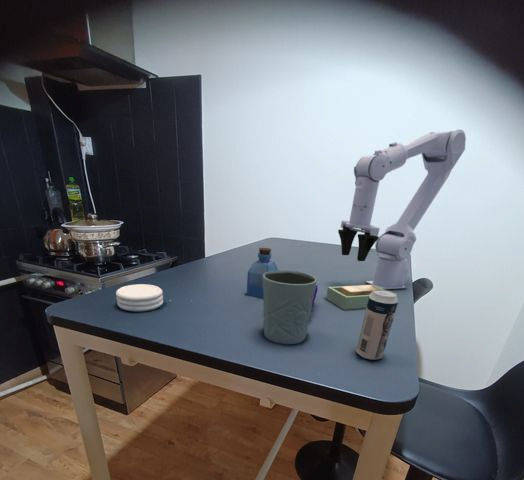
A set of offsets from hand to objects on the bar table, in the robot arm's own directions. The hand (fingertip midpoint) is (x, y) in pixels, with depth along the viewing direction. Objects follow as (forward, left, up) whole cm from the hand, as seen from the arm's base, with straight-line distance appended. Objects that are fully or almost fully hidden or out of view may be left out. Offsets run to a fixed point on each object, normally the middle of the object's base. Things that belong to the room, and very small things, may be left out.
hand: (352, 257), depth 92 cm
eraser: (+4, +11, -9) cm, 15 cm away
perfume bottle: (+28, 0, -10) cm, 29 cm away
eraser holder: (+4, +11, -9) cm, 15 cm away
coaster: (+59, +2, -10) cm, 60 cm away
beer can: (+21, +37, -10) cm, 44 cm away
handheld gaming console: (+25, +12, -10) cm, 29 cm away
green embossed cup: (+33, +25, -10) cm, 42 cm away
